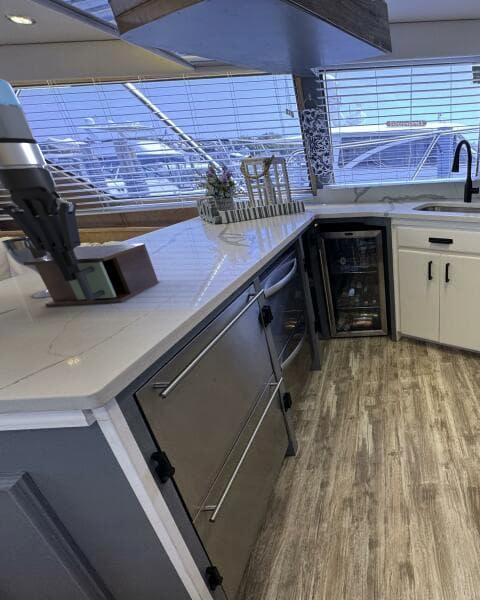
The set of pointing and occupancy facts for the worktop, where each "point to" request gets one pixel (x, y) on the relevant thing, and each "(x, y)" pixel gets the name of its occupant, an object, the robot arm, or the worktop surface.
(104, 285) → the door
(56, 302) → the cabinet
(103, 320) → the worktop surface
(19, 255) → the wine glass
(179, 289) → the worktop surface
